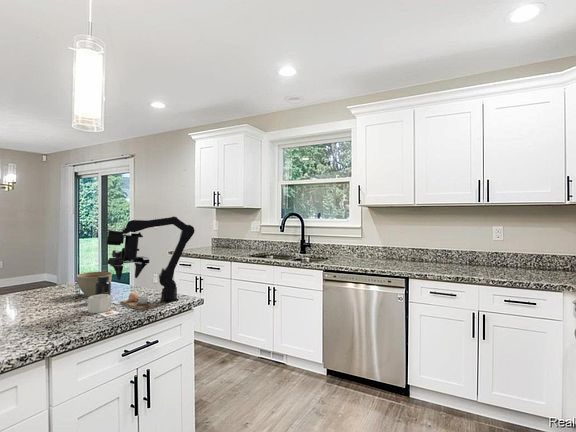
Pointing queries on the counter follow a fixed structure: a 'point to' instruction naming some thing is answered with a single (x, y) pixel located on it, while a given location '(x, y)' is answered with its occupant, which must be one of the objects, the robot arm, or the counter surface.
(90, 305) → the cup
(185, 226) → the robot arm
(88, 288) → the planter bowl
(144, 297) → the ball grey
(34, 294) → the counter surface
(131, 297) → the ball terracotta
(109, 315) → the tile
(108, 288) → the supplement bottle
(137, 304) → the stand
